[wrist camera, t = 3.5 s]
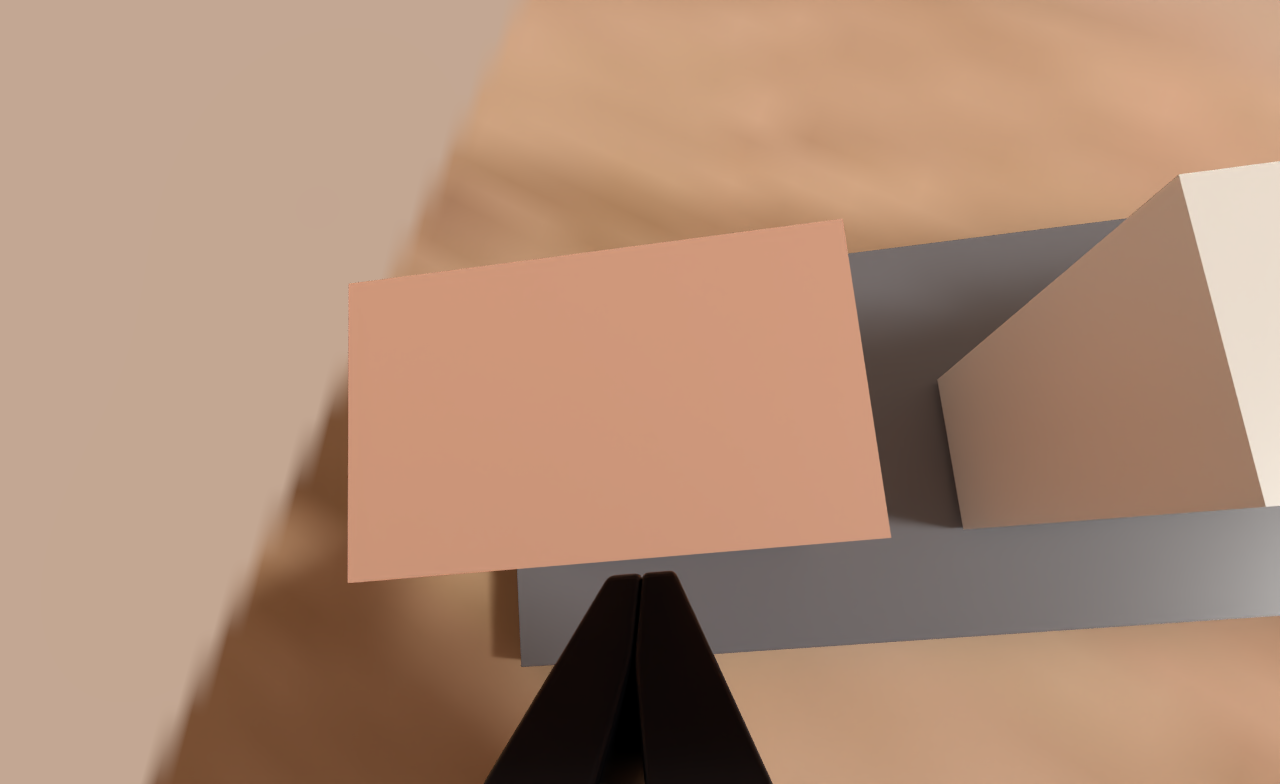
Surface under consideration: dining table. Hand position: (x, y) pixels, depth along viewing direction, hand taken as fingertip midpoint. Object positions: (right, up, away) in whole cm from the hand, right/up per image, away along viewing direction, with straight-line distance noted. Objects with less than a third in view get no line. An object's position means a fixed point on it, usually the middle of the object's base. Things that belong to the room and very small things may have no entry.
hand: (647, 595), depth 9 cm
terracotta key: (+1, +1, +6) cm, 6 cm away
